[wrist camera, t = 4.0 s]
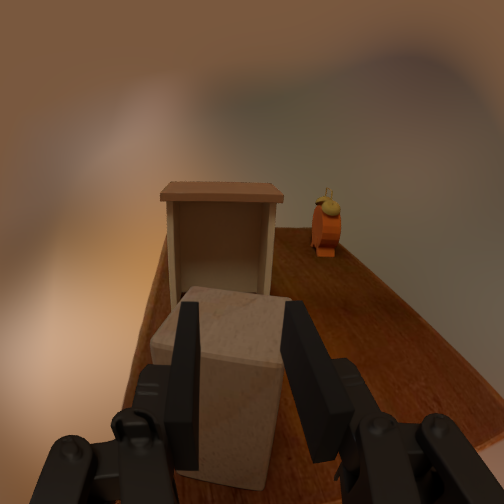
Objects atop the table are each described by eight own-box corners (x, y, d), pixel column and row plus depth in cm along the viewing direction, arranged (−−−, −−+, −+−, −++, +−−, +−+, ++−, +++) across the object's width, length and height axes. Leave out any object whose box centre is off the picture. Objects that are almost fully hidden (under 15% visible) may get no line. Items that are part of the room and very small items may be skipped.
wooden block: (175, 475, 29) (146, 340, 22) (199, 417, 38) (191, 283, 31) (263, 493, 28) (284, 363, 21) (274, 429, 37) (293, 296, 30)
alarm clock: (337, 258, 96) (346, 193, 89) (318, 258, 96) (326, 192, 89) (326, 244, 108) (333, 186, 102) (309, 243, 108) (315, 185, 101)
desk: (273, 318, 63) (283, 194, 55) (166, 318, 61) (159, 192, 52) (264, 288, 75) (271, 183, 67) (173, 288, 73) (170, 181, 64)
